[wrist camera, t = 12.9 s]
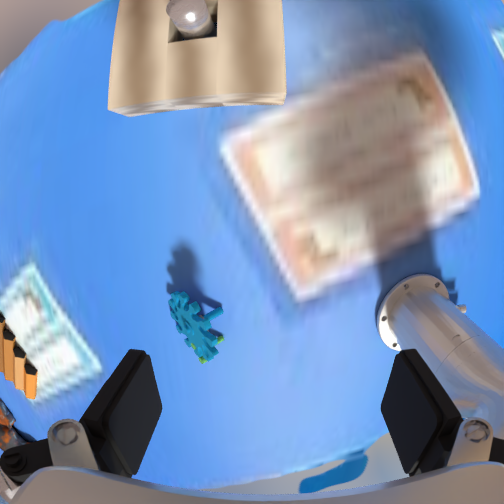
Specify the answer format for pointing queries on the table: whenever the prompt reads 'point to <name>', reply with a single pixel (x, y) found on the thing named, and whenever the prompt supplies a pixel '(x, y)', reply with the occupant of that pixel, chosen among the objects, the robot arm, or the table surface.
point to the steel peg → (191, 18)
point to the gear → (195, 325)
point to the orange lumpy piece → (8, 430)
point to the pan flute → (16, 363)
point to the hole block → (197, 58)
